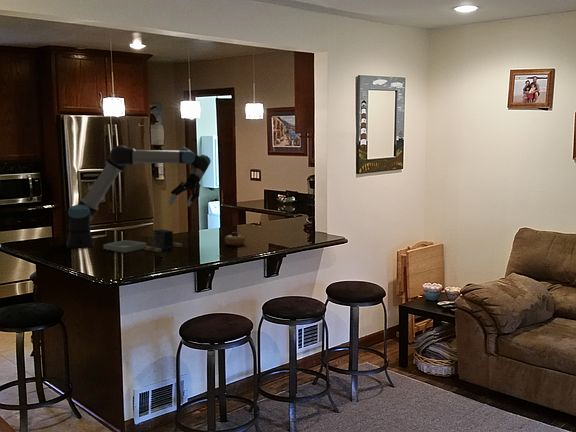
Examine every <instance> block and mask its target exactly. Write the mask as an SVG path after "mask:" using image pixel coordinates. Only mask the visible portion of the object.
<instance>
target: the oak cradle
mask: <svg viewBox="0 0 576 432" xmlns="http://www.w3.org/2000/svg"><path fill="white" fill-rule="evenodd" d="M173 248H183V243H179V242H173ZM143 250H145V251H150V252H156V253H162V252H163V250H162V248H156V247H154V246H148V245H147V246H144V249H143Z"/></svg>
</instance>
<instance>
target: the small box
mask: <svg viewBox="0 0 576 432" xmlns="http://www.w3.org/2000/svg"><path fill="white" fill-rule="evenodd" d="M173 233H174V232H173V230H168V229H153V247H156V248H162V251H168V250H173V249H174V246H173V243H174V242H173V241H174V239H173V237H174V235H173Z"/></svg>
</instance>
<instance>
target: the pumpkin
mask: <svg viewBox="0 0 576 432" xmlns="http://www.w3.org/2000/svg"><path fill="white" fill-rule="evenodd" d="M237 231H238V232H239V233H241V231H240V230H239V229H236V230H235V231H232V232H231V234H227V235H226V236H225V237H224V240H225V241H224V243H226V245H227V246H230V247H240V246H241V245H242V246H244V244H245V242H246V237H245V236H244V235H239V233H238V232H237ZM242 246H241V247H242Z"/></svg>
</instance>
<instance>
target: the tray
mask: <svg viewBox="0 0 576 432" xmlns="http://www.w3.org/2000/svg"><path fill="white" fill-rule="evenodd" d="M144 246H148V245H147V242H144V241H143V242H142V241H135V240H130V239H129V240H128V239H125V240H124V239H123V240H120V241H115V242H108V243H105V244H103V250H104V249H106V250H105V251H109V250H111V252H115V253H116V252H118V253H124V254H126V253H131V252H135V251H140V250H144Z"/></svg>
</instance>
